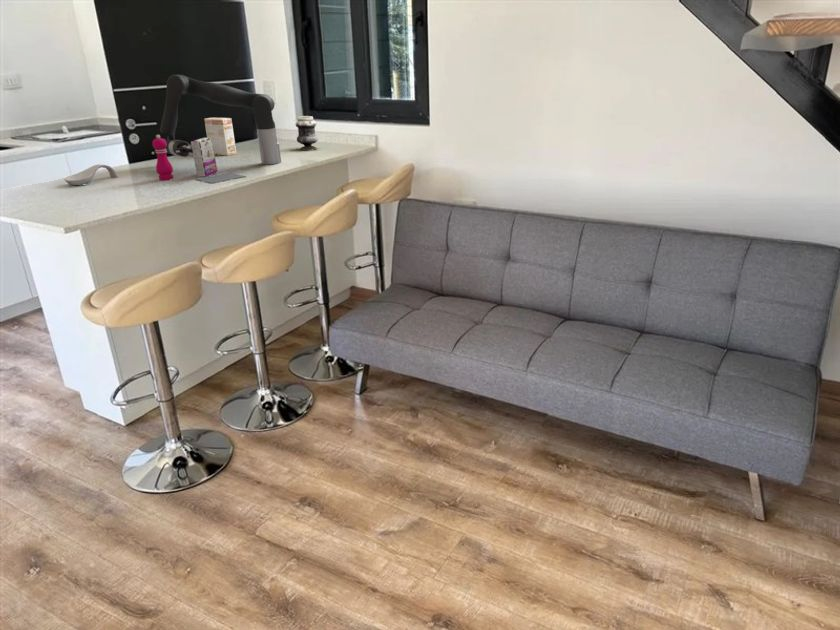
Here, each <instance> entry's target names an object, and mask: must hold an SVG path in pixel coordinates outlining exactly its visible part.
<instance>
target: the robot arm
mask: <svg viewBox="0 0 840 630" xmlns="http://www.w3.org/2000/svg"><path fill="white" fill-rule="evenodd" d="M165 90H166V93H165V102H164V111H163V116H162V119H161V123H160V126H159V127H160V128H159V131H160V133H161V134H163V135H165V136H167V137H166V138H164V137H161V138H162V139H164V140H165V141H166V143H167V146H166V148H165V149H167V152H166V154H169V155H170V154H171V155H173V156H174V155H175V156H177V157H185V158H186V157H188V156H189V155H191V154H192V155H193V151H192V146H191V143H189V142H188V141H185V140H181V139H176V138H175V137H176V135H175V134H176V129H177V126H178V125H177V124H178V120H179V119H178V118H179V117H178V116H179V115H178V114H179V112H178V111H179V109H178V108H179V102H180V101H181V97H182V95H188V96H189V95H190V96H197V97H200V98H203V99H205V100H207V101H209V102H212V103H215V104H218V105H224V106H231V107H244V108H249V109H252V114H253V119H254V123H255V125H256V132H257V140H258V147H259V154H260V162H261V163H260V164H262V165H276V164H279V163H282V158H281V150H280V149H281V148H280V142H278V136H277V130H276V123H275V121H274V118H273V110H274V109H275V101H274V99H273V98H272V97H271V96H270V95H268V94H265V93H257V92H256V93H255V92H249V91H245V90H241V89H238V88H236V87H232V86H230V85H226V84H220V83H215V82H211V81H210V82H209V81H201V80H197V79H194V78H192V77H190V76H186V75H184V74H172V75H170V76H169V77H168V78H167V81H166V89H165ZM154 139H157V138H156V137H155V138H154ZM152 149H154V151H155V150H156V149H155V148H154V147H153V146H152Z"/></svg>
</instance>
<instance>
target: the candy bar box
mask: <svg viewBox="0 0 840 630" xmlns="http://www.w3.org/2000/svg"><path fill="white" fill-rule="evenodd" d="M190 145H191V146H192V151H193V153H192V155H193V161H194V165H195V171H196V176H197V178H198V177H199V178H205V177H206V176H207V177H210V176H212V175H214V174H217V173H218V168H217V167H218V166H217V162H216V157H215V156H216V154H214V149H213V144H212V138H207V137H202V138H198V139H195V140H193V141H190ZM216 172H217V173H216ZM211 174H212V175H211ZM209 175H210V176H209ZM204 176H205V177H204Z"/></svg>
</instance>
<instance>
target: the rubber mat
mask: <svg viewBox="0 0 840 630" xmlns="http://www.w3.org/2000/svg"><path fill="white" fill-rule="evenodd" d="M242 177H243V178H247V175H244V174H243V175H241V174H237V173H232V172H228V173H222V174H218V175H217V174H216V175H210V176H207V177H199V178H195V179H194V180H195V181H198V180H199V182H202V181H204V182H203V183H207V182H208V184H211V183H212V184H216V183H215V182H217V183H221V182H220V181H222V182H226V181H225V180H227V181H231V180H230V179H233V180H237V178H238V179H242Z"/></svg>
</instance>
